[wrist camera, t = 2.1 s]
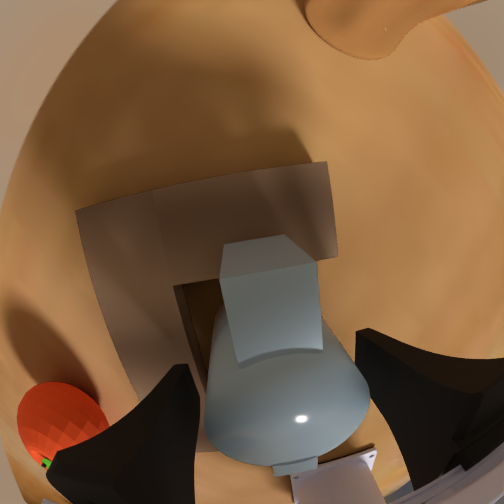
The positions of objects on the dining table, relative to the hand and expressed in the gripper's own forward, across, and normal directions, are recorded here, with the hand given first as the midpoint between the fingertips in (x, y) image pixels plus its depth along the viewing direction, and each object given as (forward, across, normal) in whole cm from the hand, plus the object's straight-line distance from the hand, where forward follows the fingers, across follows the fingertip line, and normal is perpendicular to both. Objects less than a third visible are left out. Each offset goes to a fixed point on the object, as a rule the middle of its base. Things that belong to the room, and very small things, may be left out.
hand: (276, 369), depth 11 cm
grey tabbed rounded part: (+4, 0, 0) cm, 4 cm away
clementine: (+4, +14, +5) cm, 15 cm away
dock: (+4, +2, 0) cm, 4 cm away
